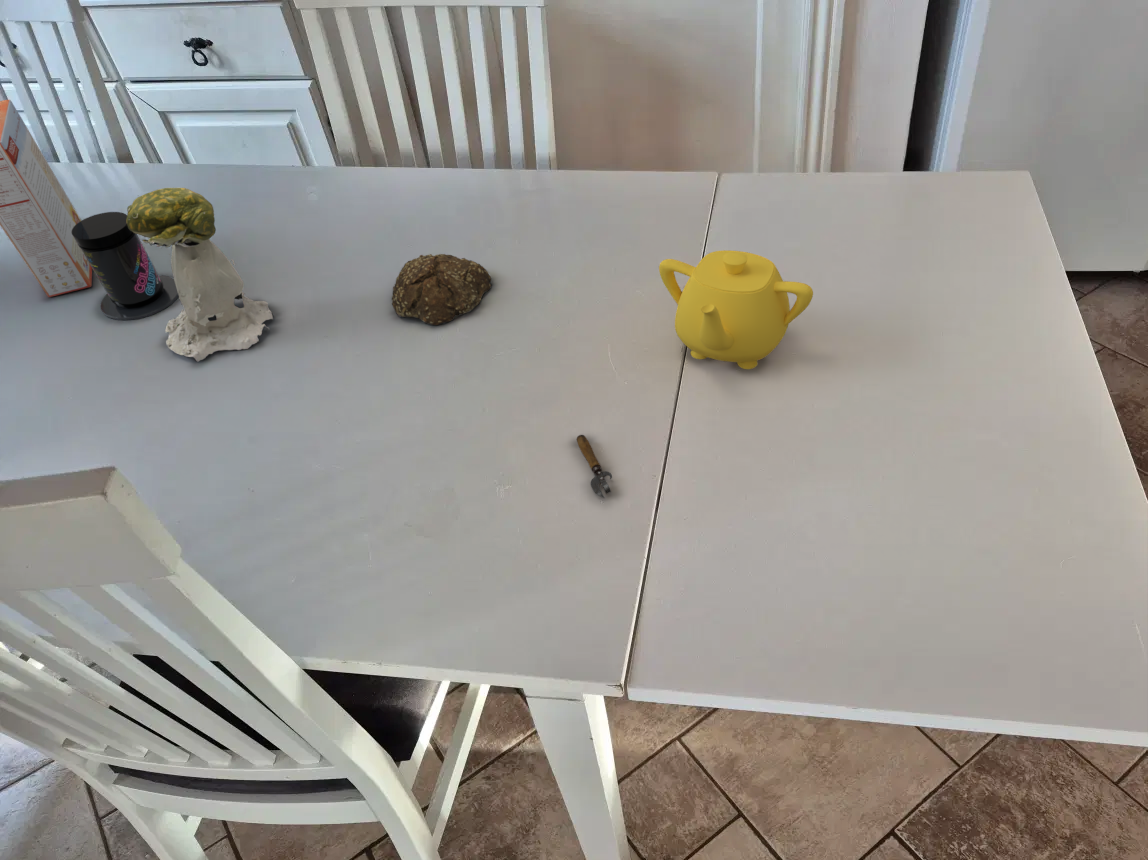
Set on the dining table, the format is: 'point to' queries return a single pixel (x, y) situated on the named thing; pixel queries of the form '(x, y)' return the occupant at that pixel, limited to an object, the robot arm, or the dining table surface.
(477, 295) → the bread roll
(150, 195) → the frog
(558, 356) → the dining table surface
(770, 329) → the teapot
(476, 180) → the dining table surface
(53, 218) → the cracker box
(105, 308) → the coaster
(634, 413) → the dining table surface
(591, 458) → the can opener
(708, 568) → the dining table surface
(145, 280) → the supplement container
